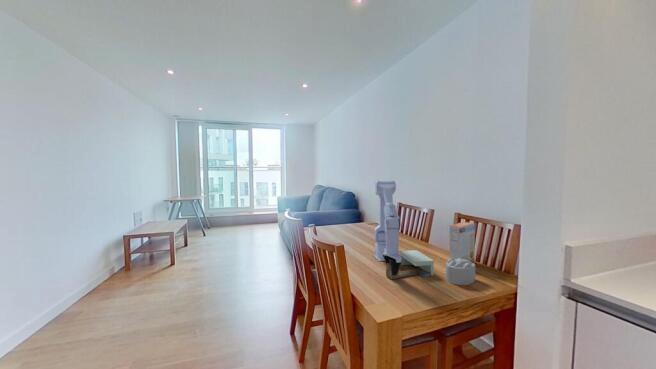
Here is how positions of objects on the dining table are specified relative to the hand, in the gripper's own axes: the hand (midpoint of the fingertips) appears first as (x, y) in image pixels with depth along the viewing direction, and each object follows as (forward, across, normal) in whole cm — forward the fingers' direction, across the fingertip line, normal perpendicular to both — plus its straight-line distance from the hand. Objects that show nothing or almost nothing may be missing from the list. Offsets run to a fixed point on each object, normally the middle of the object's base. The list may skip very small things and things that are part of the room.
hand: (392, 272), depth 118 cm
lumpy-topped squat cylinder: (+3, +7, +28) cm, 30 cm away
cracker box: (+3, -10, +43) cm, 44 cm away
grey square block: (+3, 0, +16) cm, 16 cm away
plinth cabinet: (+2, -7, +16) cm, 17 cm away
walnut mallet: (+2, -2, +8) cm, 8 cm away
